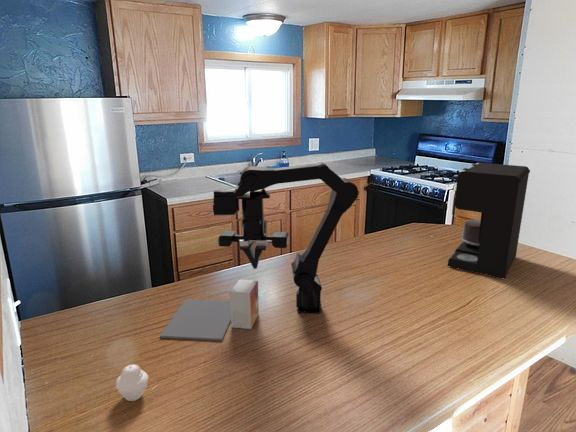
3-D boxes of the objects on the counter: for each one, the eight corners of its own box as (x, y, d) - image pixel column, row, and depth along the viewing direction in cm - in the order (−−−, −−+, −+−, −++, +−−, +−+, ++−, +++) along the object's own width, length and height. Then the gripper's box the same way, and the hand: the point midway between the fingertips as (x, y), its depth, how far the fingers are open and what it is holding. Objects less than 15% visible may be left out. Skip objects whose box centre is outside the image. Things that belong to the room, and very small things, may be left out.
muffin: (110, 401, 82) (106, 371, 80) (132, 382, 88) (128, 354, 86) (136, 410, 80) (132, 379, 78) (156, 390, 86) (153, 360, 84)
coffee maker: (464, 244, 170) (475, 160, 161) (518, 254, 159) (532, 164, 150) (445, 266, 148) (455, 169, 139) (505, 279, 137) (521, 175, 128)
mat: (238, 303, 122) (238, 301, 122) (222, 340, 103) (222, 338, 103) (186, 300, 123) (185, 299, 123) (160, 337, 104) (159, 335, 104)
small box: (251, 330, 108) (250, 293, 105) (230, 327, 109) (229, 291, 106) (259, 315, 115) (258, 280, 112) (240, 313, 116) (238, 278, 114)
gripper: (291, 207, 117) (292, 258, 121) (227, 206, 119) (230, 256, 124) (286, 218, 106) (287, 273, 111) (215, 216, 109) (219, 271, 113)
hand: (255, 268), depth 115 cm, fingers closed
